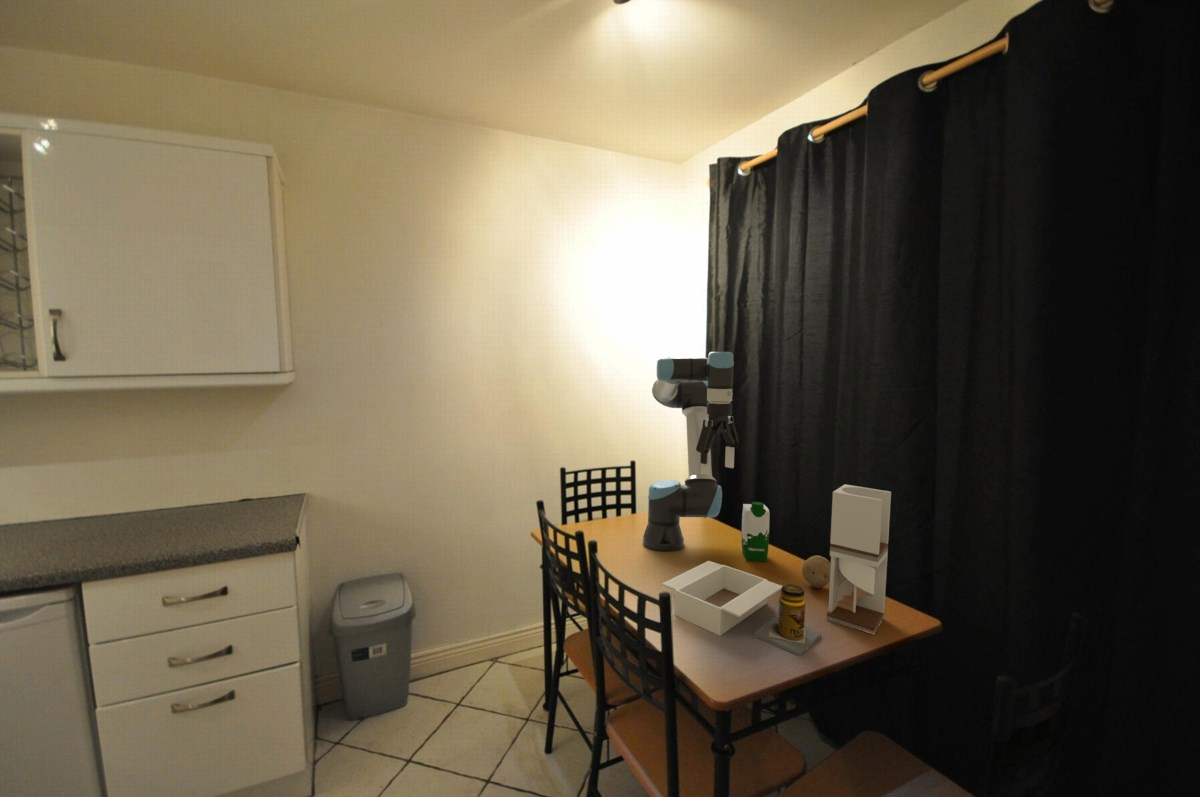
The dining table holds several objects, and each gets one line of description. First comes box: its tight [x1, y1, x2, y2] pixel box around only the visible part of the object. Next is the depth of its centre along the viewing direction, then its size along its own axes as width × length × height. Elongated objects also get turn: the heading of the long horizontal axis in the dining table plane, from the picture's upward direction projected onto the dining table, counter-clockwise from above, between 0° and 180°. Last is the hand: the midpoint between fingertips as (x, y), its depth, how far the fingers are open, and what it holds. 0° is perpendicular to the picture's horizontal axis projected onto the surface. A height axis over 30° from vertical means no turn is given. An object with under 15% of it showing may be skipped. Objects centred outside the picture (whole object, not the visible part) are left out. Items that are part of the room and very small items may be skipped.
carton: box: [661, 560, 783, 637], centre depth 143 cm, size 24×24×7 cm
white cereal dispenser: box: [826, 483, 892, 633], centre depth 136 cm, size 11×11×35 cm
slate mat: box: [753, 615, 822, 656], centre depth 130 cm, size 12×12×1 cm
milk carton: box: [741, 501, 771, 563], centre depth 179 cm, size 9×9×20 cm
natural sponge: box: [801, 555, 831, 589], centre depth 156 cm, size 9×9×10 cm
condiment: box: [769, 583, 806, 644], centre depth 129 cm, size 7×8×12 cm
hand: (717, 470), depth 159 cm, fingers open, 13 cm apart
